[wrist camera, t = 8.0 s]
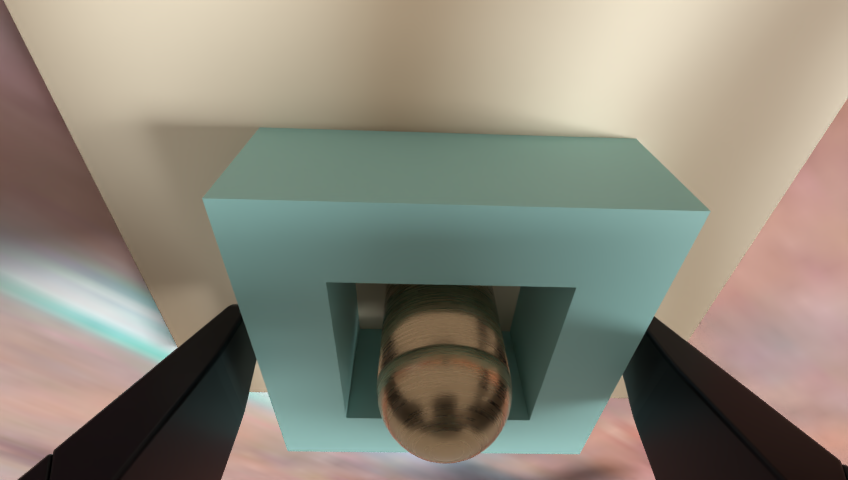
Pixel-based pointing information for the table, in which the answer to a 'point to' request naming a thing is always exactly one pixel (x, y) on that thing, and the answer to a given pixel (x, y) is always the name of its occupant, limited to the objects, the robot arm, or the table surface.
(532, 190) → the teal collar
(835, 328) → the table surface
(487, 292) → the bronze post
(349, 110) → the birch stand board
